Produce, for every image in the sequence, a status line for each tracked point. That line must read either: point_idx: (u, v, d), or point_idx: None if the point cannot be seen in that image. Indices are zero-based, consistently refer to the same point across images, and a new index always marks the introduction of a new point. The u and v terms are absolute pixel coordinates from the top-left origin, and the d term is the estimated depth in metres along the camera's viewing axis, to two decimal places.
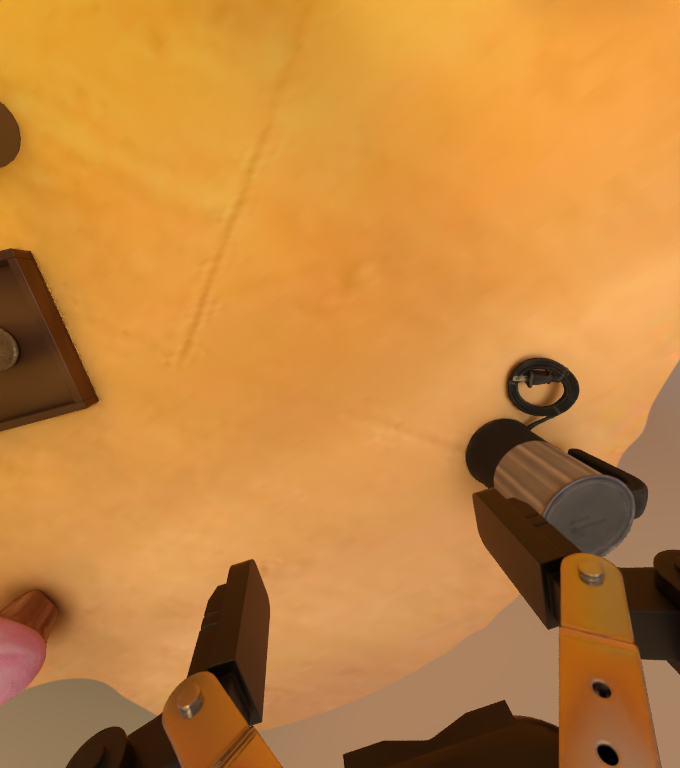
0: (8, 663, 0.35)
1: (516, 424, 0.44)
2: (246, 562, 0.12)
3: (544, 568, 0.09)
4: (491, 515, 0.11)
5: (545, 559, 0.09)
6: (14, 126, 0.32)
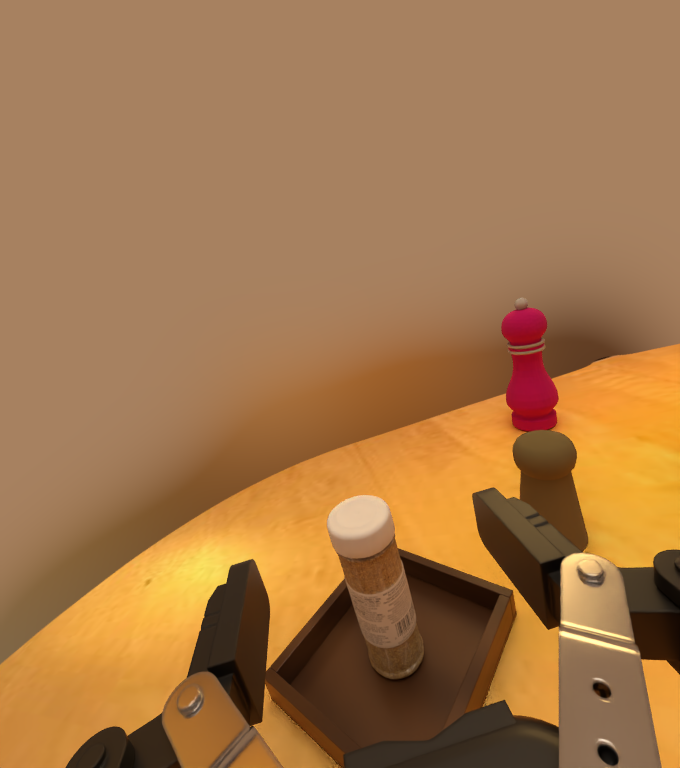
0: None
1: None
2: (246, 562, 0.12)
3: (544, 568, 0.09)
4: (491, 515, 0.11)
5: (545, 559, 0.09)
6: (585, 542, 0.34)
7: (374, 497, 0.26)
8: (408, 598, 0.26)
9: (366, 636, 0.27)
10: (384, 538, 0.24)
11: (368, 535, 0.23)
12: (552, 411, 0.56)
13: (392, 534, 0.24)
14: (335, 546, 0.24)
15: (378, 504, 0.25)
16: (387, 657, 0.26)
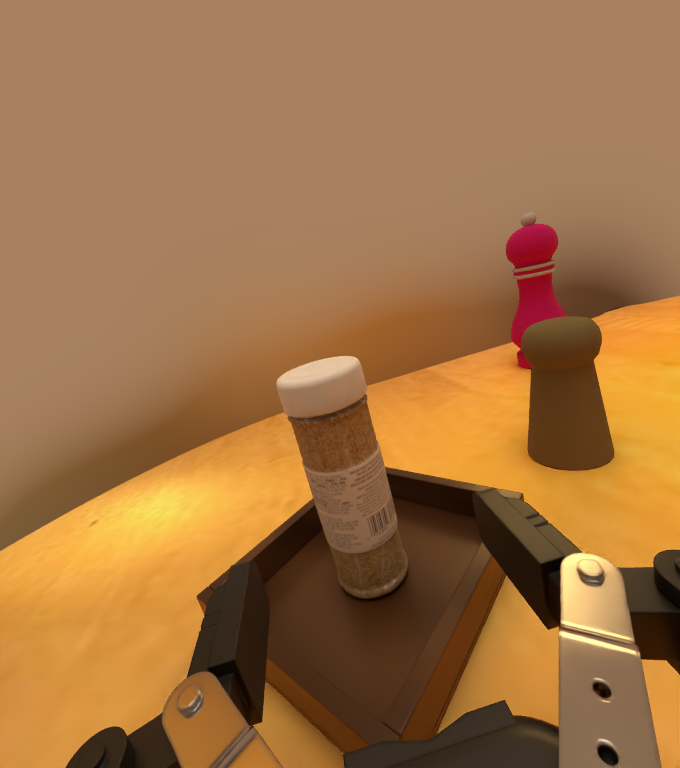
0: None
1: None
2: (246, 562, 0.12)
3: (544, 568, 0.09)
4: (491, 515, 0.11)
5: (545, 559, 0.09)
6: (611, 452, 0.28)
7: (342, 356, 0.20)
8: (386, 488, 0.20)
9: (331, 540, 0.20)
10: (350, 390, 0.17)
11: (327, 380, 0.17)
12: None
13: (362, 391, 0.18)
14: (285, 406, 0.18)
15: (345, 358, 0.19)
16: (358, 566, 0.20)
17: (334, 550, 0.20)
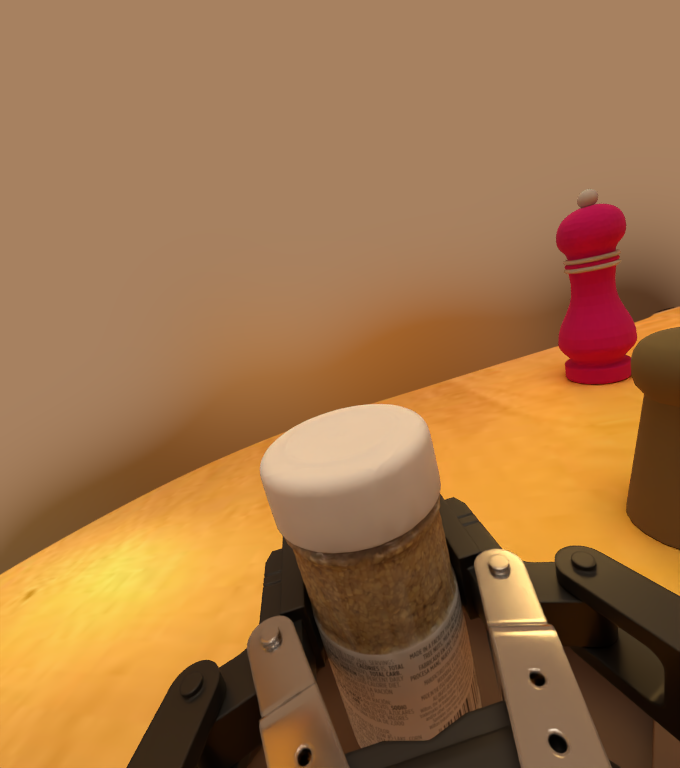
0: None
1: None
2: None
3: (463, 563, 0.10)
4: None
5: (464, 554, 0.10)
6: None
7: (385, 405, 0.11)
8: (469, 656, 0.11)
9: (363, 747, 0.11)
10: (417, 496, 0.08)
11: (370, 479, 0.07)
12: (626, 356, 0.40)
13: (437, 487, 0.09)
14: (277, 519, 0.09)
15: (396, 414, 0.10)
16: None
17: None
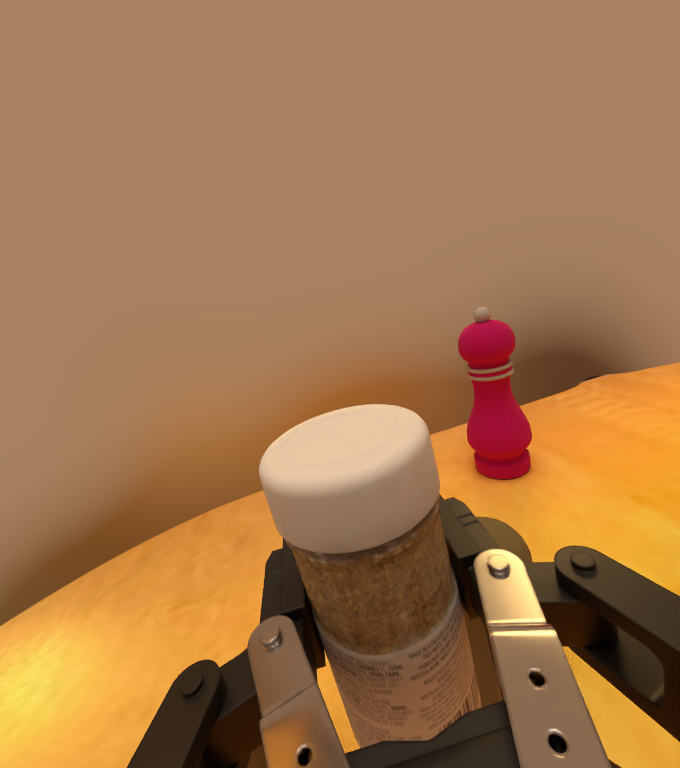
0: None
1: None
2: None
3: (463, 563, 0.10)
4: None
5: (464, 554, 0.10)
6: None
7: (384, 405, 0.11)
8: (468, 656, 0.11)
9: (363, 747, 0.11)
10: (416, 496, 0.08)
11: (369, 480, 0.07)
12: (524, 452, 0.43)
13: (436, 487, 0.09)
14: (277, 520, 0.09)
15: (395, 414, 0.10)
16: None
17: None
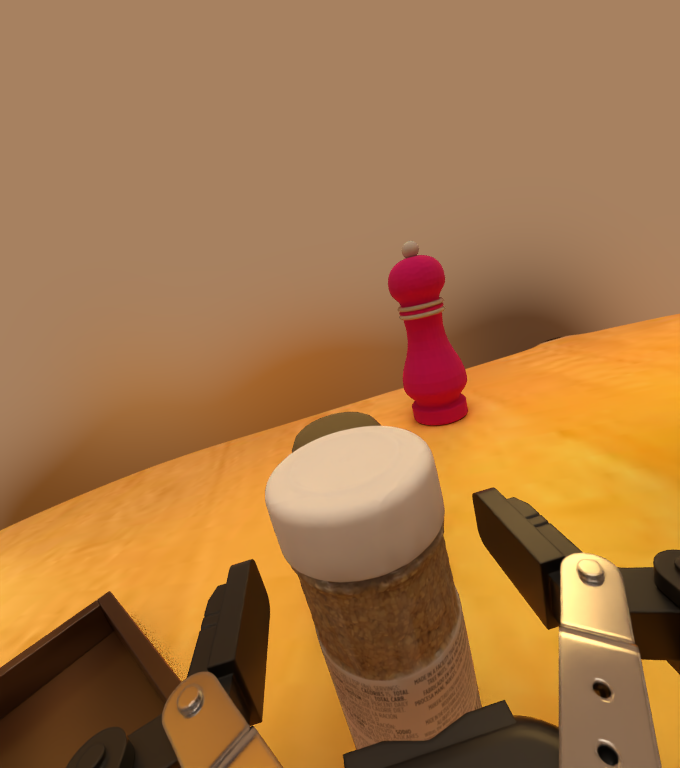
0: None
1: None
2: (246, 562, 0.12)
3: (544, 568, 0.09)
4: (491, 515, 0.11)
5: (545, 559, 0.09)
6: None
7: (388, 428, 0.11)
8: (472, 678, 0.11)
9: None
10: (421, 524, 0.08)
11: (375, 511, 0.08)
12: (460, 398, 0.41)
13: (441, 514, 0.09)
14: (283, 546, 0.09)
15: (400, 439, 0.10)
16: None
17: None
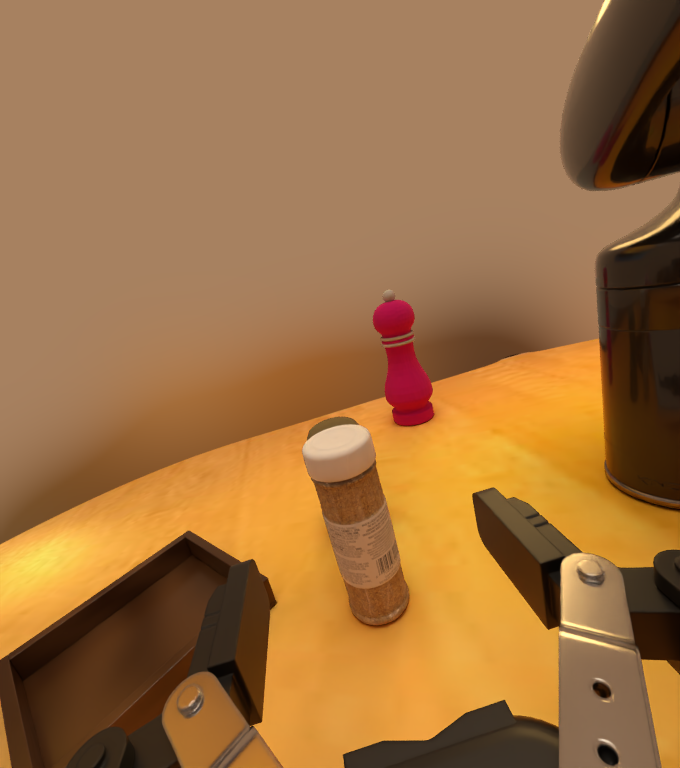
0: None
1: None
2: (246, 562, 0.12)
3: (544, 568, 0.09)
4: (491, 515, 0.11)
5: (545, 559, 0.09)
6: None
7: (355, 425, 0.24)
8: (391, 535, 0.24)
9: (345, 577, 0.24)
10: (363, 461, 0.22)
11: (345, 454, 0.21)
12: (427, 405, 0.55)
13: (372, 459, 0.22)
14: (310, 471, 0.22)
15: (358, 429, 0.23)
16: (368, 599, 0.24)
17: (348, 584, 0.25)
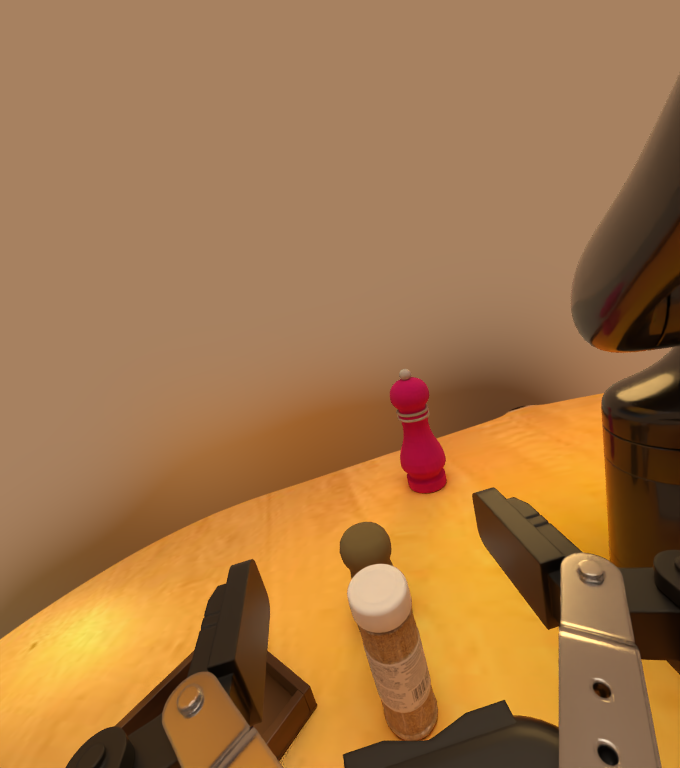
0: None
1: None
2: (246, 562, 0.12)
3: (544, 568, 0.09)
4: (491, 515, 0.11)
5: (545, 559, 0.09)
6: None
7: (391, 567, 0.28)
8: (423, 664, 0.28)
9: (383, 700, 0.28)
10: (403, 613, 0.25)
11: (388, 611, 0.25)
12: (441, 473, 0.58)
13: (410, 607, 0.26)
14: (356, 619, 0.26)
15: (396, 576, 0.27)
16: (403, 720, 0.28)
17: (385, 705, 0.28)
